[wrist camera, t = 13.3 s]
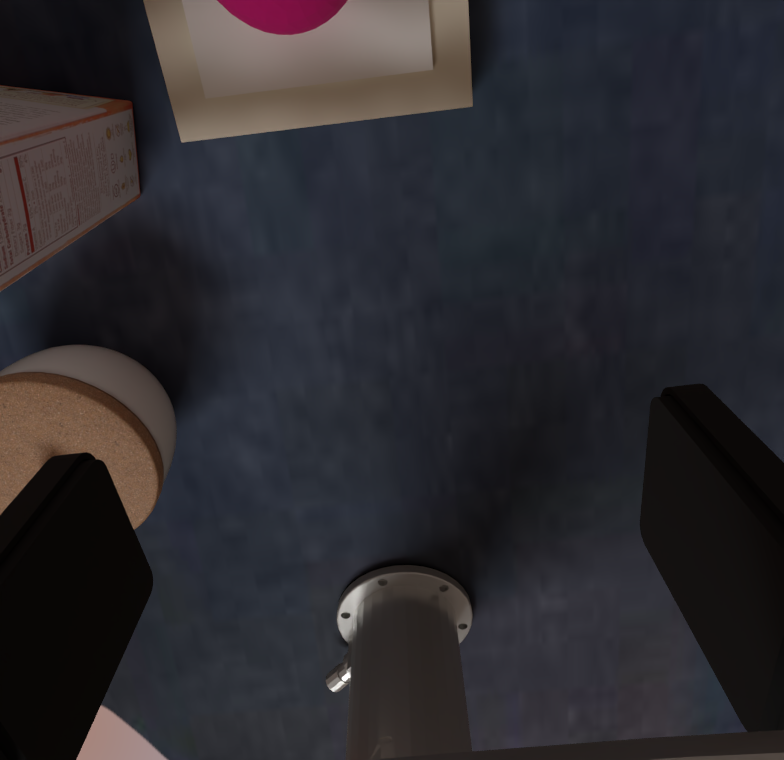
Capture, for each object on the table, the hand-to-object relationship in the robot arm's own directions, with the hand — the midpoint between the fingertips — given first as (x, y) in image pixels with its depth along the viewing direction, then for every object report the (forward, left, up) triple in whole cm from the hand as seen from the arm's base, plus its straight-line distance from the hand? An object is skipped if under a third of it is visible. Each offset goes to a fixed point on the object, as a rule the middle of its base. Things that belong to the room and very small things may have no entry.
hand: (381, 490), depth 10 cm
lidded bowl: (-25, +6, -30) cm, 40 cm away
